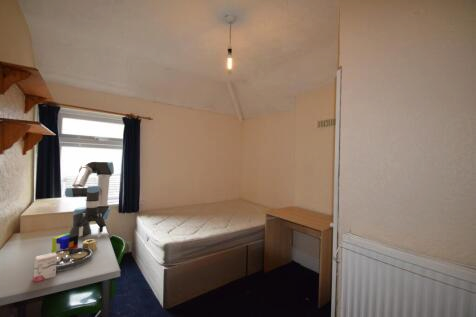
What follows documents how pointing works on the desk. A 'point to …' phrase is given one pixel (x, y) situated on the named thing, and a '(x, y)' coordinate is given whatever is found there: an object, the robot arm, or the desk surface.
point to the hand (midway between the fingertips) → (90, 236)
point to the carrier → (72, 258)
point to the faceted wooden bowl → (90, 244)
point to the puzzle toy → (64, 242)
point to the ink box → (45, 266)
